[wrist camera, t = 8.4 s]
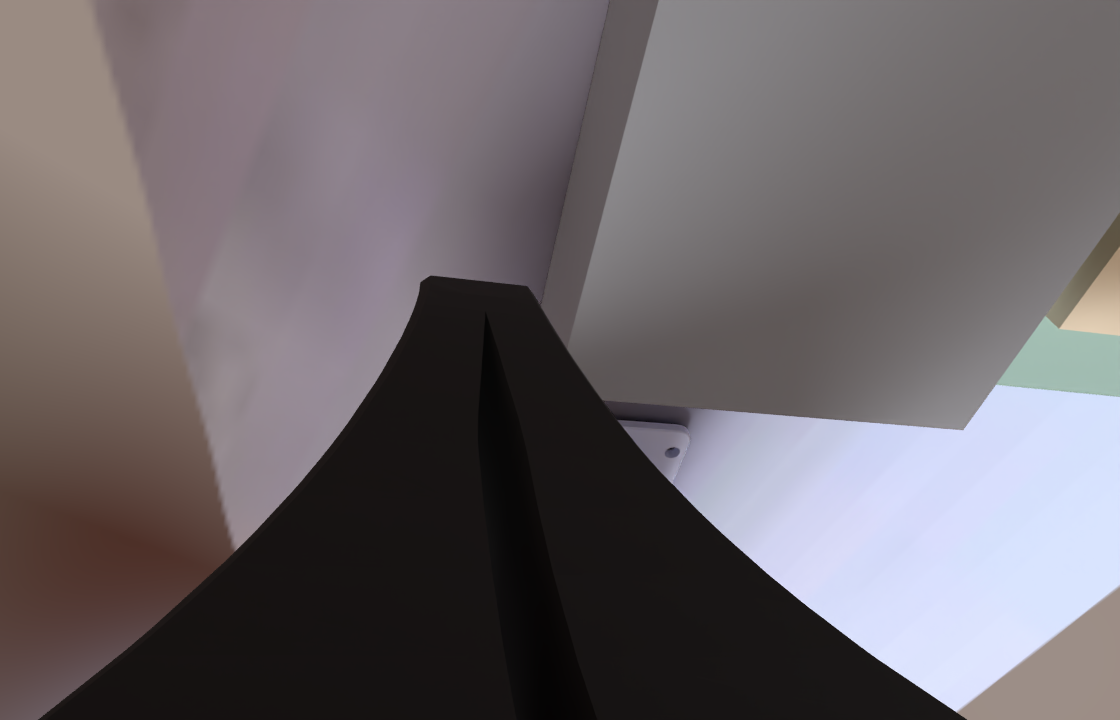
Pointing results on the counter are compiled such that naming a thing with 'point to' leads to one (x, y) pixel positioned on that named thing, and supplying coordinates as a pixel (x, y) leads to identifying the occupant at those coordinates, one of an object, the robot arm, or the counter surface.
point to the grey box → (833, 200)
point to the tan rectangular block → (1093, 290)
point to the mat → (1067, 362)
